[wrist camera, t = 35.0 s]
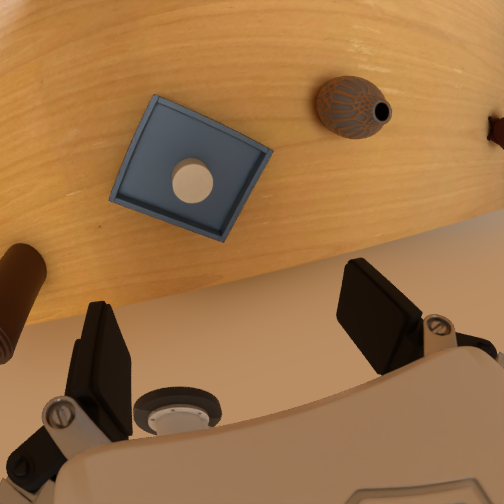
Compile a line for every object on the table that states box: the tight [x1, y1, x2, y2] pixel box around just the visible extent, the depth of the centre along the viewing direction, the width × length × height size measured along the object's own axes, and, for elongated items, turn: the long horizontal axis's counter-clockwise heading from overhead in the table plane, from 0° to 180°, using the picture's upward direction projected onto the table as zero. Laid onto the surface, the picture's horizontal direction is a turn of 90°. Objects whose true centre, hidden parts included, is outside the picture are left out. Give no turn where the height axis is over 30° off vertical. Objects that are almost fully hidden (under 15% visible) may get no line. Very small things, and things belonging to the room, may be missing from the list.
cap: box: [172, 158, 213, 203], centre depth 28 cm, size 4×4×3 cm
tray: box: [109, 94, 274, 243], centre depth 28 cm, size 13×11×2 cm
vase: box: [316, 76, 392, 139], centre depth 26 cm, size 7×7×9 cm
